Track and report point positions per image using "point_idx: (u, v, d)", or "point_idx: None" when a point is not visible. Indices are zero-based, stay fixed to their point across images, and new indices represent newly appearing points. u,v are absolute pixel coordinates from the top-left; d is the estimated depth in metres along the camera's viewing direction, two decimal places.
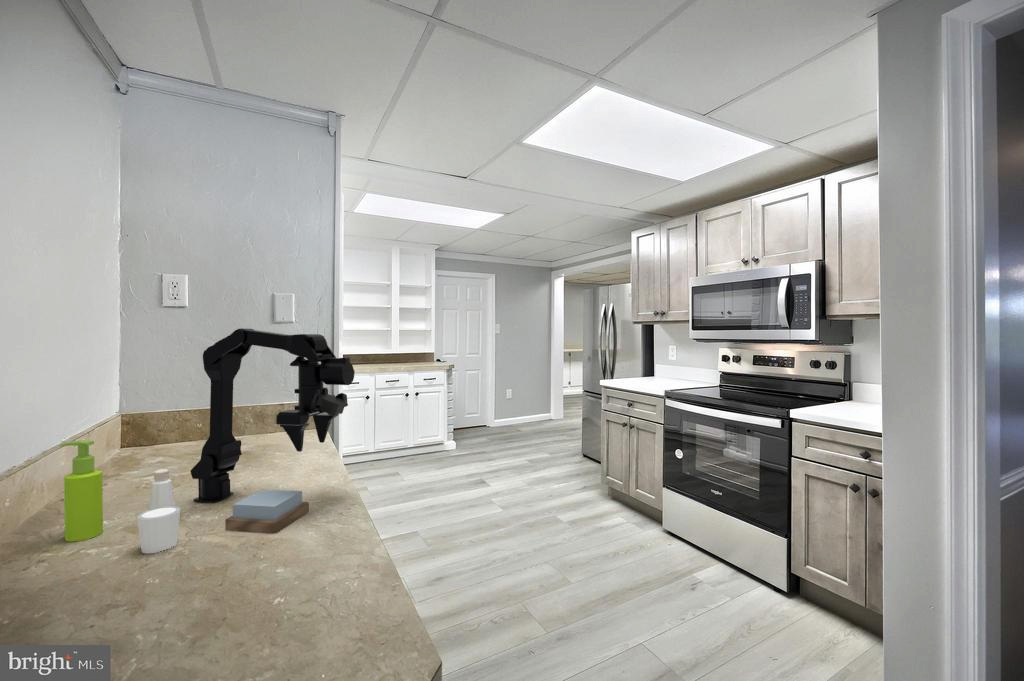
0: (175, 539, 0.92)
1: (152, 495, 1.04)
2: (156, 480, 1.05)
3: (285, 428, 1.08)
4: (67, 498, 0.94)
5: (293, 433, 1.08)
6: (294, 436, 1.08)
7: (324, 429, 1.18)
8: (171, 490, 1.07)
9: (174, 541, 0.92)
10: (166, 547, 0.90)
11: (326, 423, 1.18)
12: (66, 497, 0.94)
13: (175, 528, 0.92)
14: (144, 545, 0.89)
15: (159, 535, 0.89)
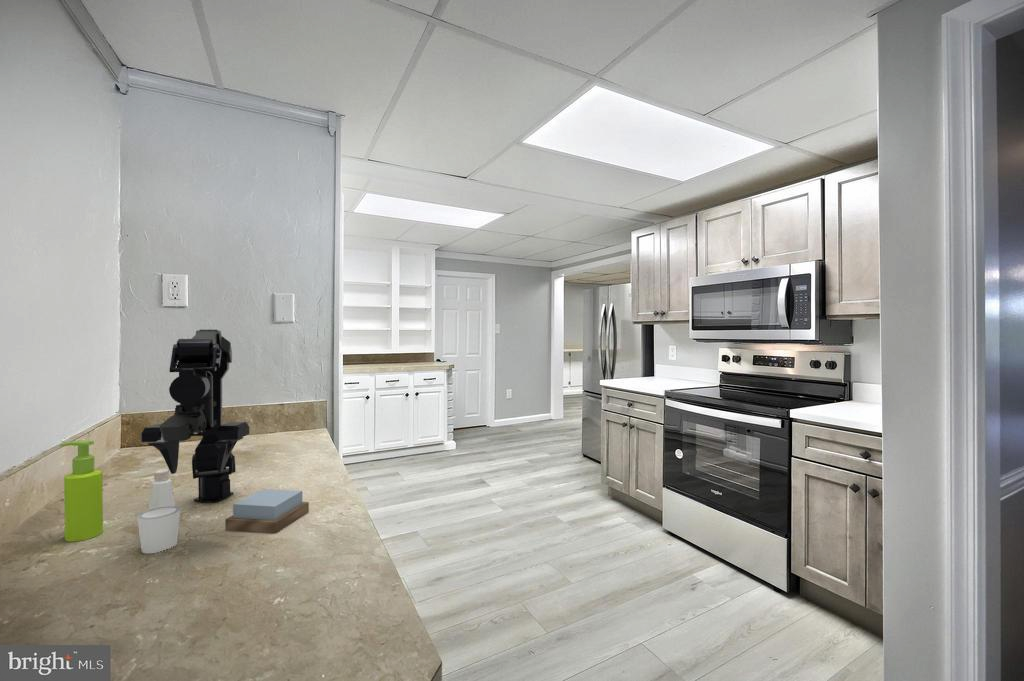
0: (175, 539, 0.92)
1: (152, 495, 1.04)
2: (156, 480, 1.05)
3: None
4: (67, 498, 0.94)
5: None
6: None
7: None
8: (171, 490, 1.07)
9: (174, 541, 0.92)
10: (166, 547, 0.90)
11: None
12: (66, 497, 0.94)
13: (175, 528, 0.92)
14: (144, 545, 0.89)
15: (159, 535, 0.89)
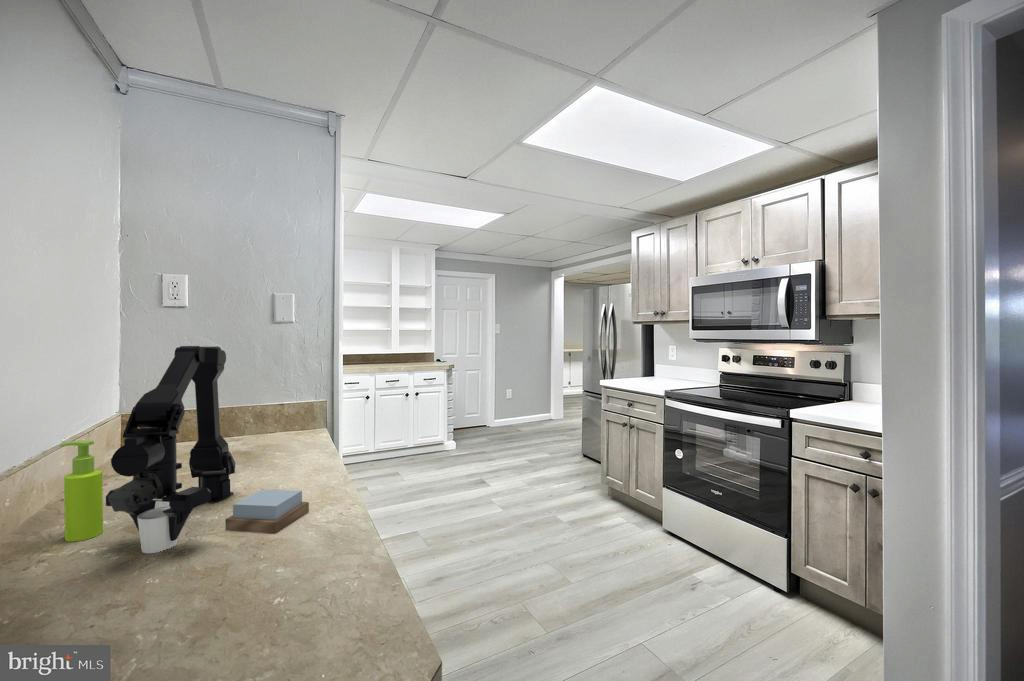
0: None
1: None
2: None
3: None
4: (67, 498, 0.94)
5: None
6: None
7: None
8: None
9: (174, 541, 0.92)
10: (166, 547, 0.90)
11: None
12: (66, 497, 0.94)
13: None
14: (144, 545, 0.89)
15: (159, 535, 0.89)
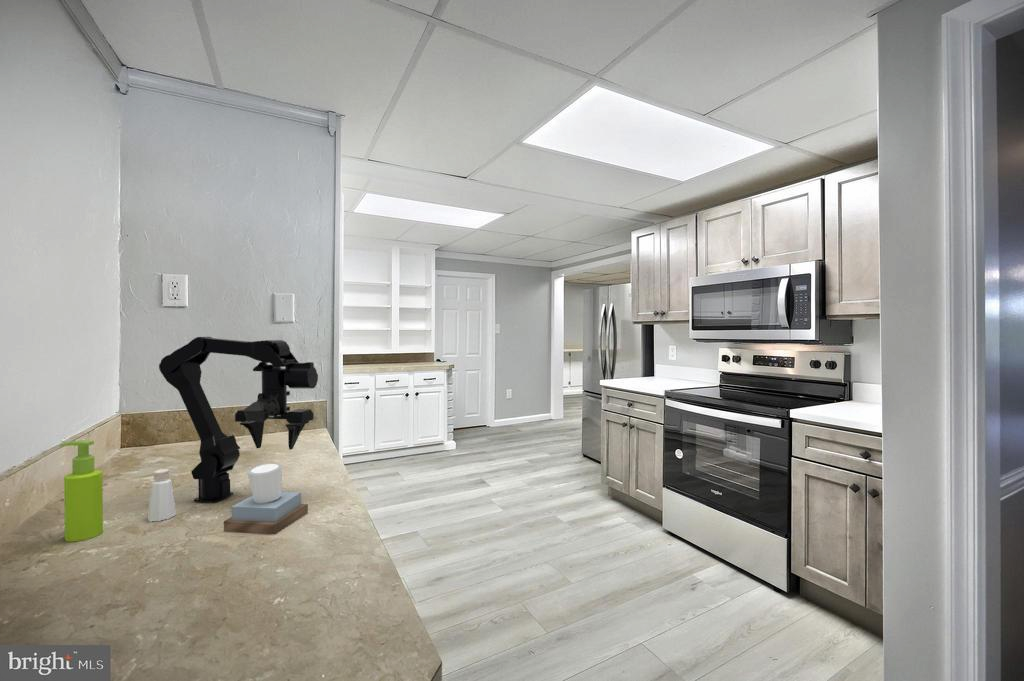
0: (280, 491, 1.04)
1: (152, 495, 1.04)
2: (156, 480, 1.05)
3: None
4: (67, 498, 0.94)
5: None
6: None
7: None
8: (171, 490, 1.07)
9: (279, 493, 1.04)
10: (273, 498, 1.02)
11: None
12: (66, 497, 0.94)
13: (279, 482, 1.03)
14: (255, 496, 1.01)
15: (267, 488, 1.01)
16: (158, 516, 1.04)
